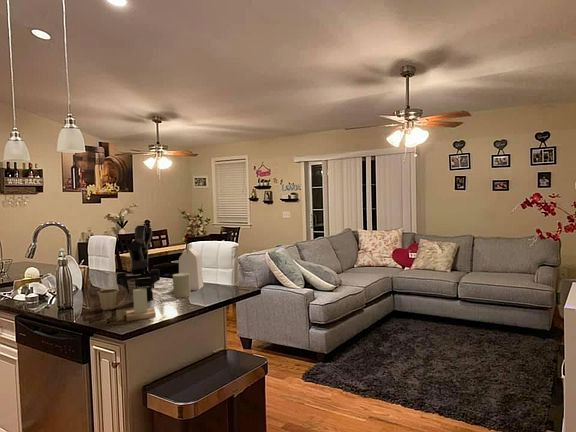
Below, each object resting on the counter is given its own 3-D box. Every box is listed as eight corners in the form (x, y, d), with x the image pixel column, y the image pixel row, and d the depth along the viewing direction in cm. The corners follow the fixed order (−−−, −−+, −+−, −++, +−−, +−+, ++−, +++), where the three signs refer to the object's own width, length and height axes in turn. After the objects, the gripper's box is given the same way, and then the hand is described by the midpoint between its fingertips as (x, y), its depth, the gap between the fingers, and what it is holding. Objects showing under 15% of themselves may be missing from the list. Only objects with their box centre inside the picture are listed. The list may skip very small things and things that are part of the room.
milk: (199, 289, 250) (196, 244, 249) (179, 290, 250) (176, 245, 249) (203, 285, 262) (201, 242, 261) (184, 286, 262) (182, 243, 261)
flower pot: (121, 305, 217) (120, 288, 217) (115, 310, 208) (114, 292, 208) (102, 306, 217) (101, 289, 217) (95, 311, 208) (94, 293, 207)
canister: (134, 310, 197) (133, 289, 197) (147, 309, 199) (146, 287, 198) (134, 313, 192) (133, 291, 191) (147, 312, 193) (146, 289, 193)
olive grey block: (186, 297, 230) (185, 275, 229) (170, 297, 232) (169, 275, 231) (193, 293, 239) (192, 272, 238) (178, 293, 241) (177, 272, 240)
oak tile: (126, 316, 198) (126, 310, 198) (154, 312, 203) (153, 307, 203) (126, 322, 187) (126, 316, 187) (155, 318, 191) (155, 313, 191)
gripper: (115, 255, 196) (116, 283, 186) (158, 252, 202) (161, 279, 192) (116, 270, 203) (117, 298, 193) (158, 266, 210) (161, 293, 200)
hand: (139, 292), depth 194 cm, fingers open, 9 cm apart
